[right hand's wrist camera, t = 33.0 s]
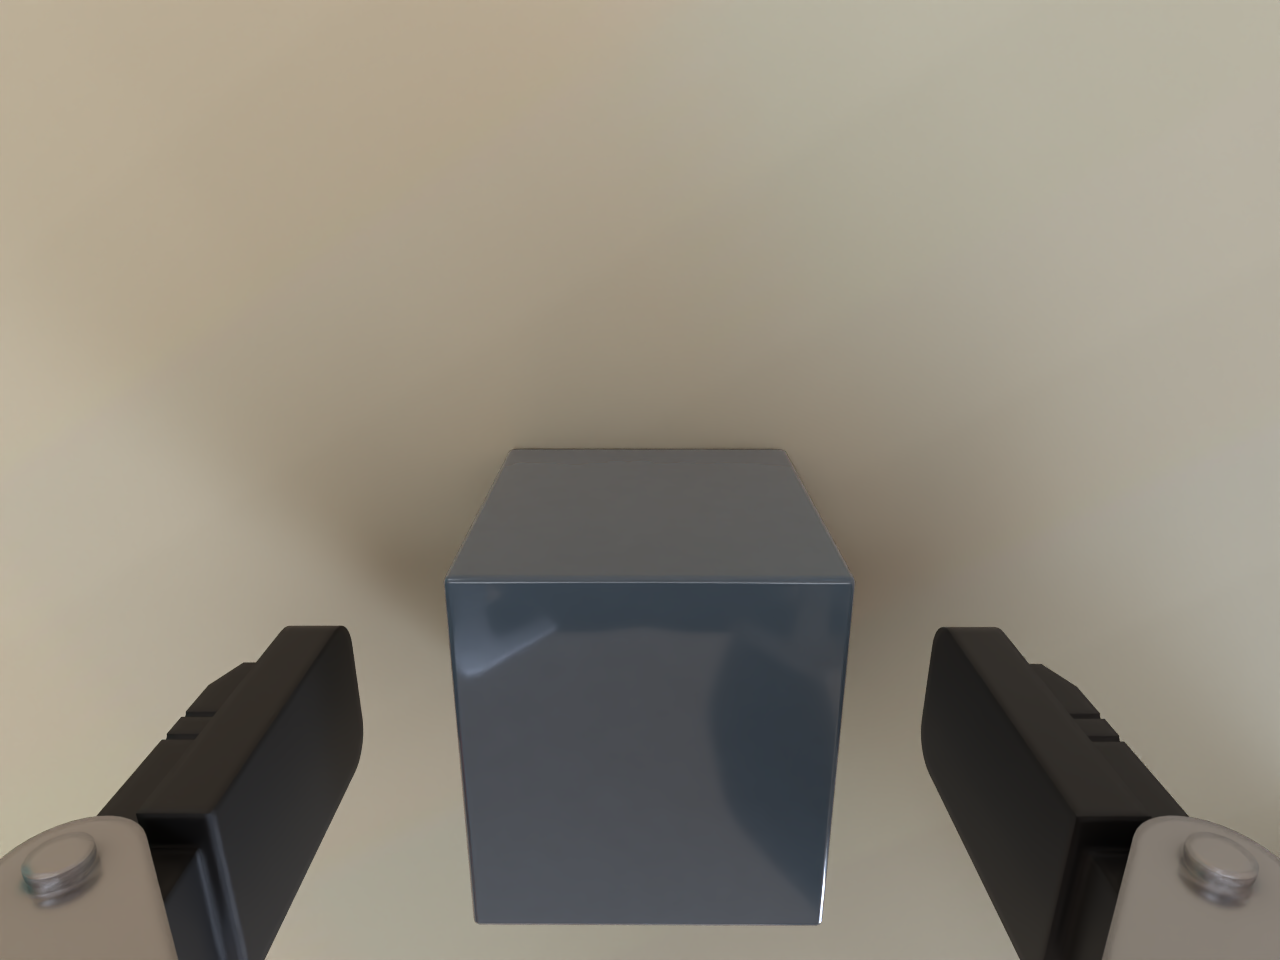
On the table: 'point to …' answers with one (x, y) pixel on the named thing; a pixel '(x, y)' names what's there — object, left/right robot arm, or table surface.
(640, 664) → the block
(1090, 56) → the table surface
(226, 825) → the right robot arm
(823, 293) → the table surface
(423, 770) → the table surface
